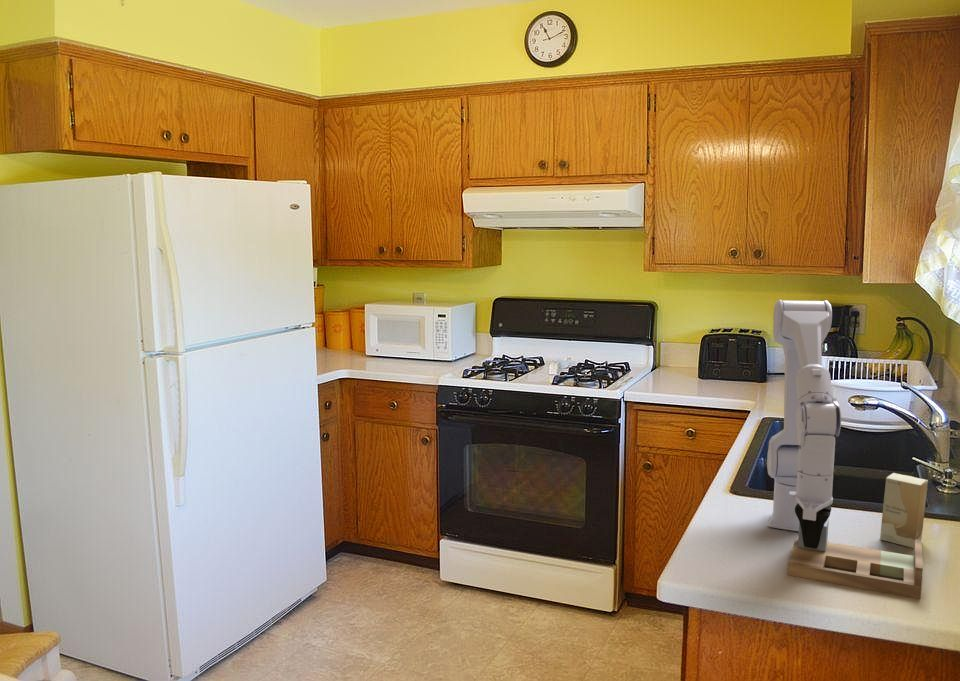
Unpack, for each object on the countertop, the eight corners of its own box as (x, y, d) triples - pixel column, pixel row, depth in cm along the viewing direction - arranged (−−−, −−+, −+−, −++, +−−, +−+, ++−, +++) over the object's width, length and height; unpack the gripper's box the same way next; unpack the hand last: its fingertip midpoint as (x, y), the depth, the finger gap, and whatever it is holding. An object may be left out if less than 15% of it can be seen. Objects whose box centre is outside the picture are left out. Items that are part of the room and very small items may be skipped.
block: (800, 538, 151) (801, 514, 151) (827, 543, 149) (828, 518, 149) (797, 547, 147) (799, 522, 147) (825, 551, 145) (826, 526, 145)
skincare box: (879, 540, 156) (883, 477, 154) (886, 533, 159) (891, 471, 157) (916, 549, 152) (921, 484, 150) (923, 542, 155) (928, 478, 153)
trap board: (795, 547, 152) (797, 521, 152) (919, 567, 144) (921, 540, 143) (786, 574, 141) (788, 546, 140) (920, 598, 132) (922, 568, 131)
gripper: (795, 457, 151) (791, 529, 153) (785, 479, 138) (781, 557, 140) (837, 462, 148) (832, 535, 150) (831, 485, 135) (826, 565, 137)
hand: (810, 546), depth 145 cm, fingers closed
